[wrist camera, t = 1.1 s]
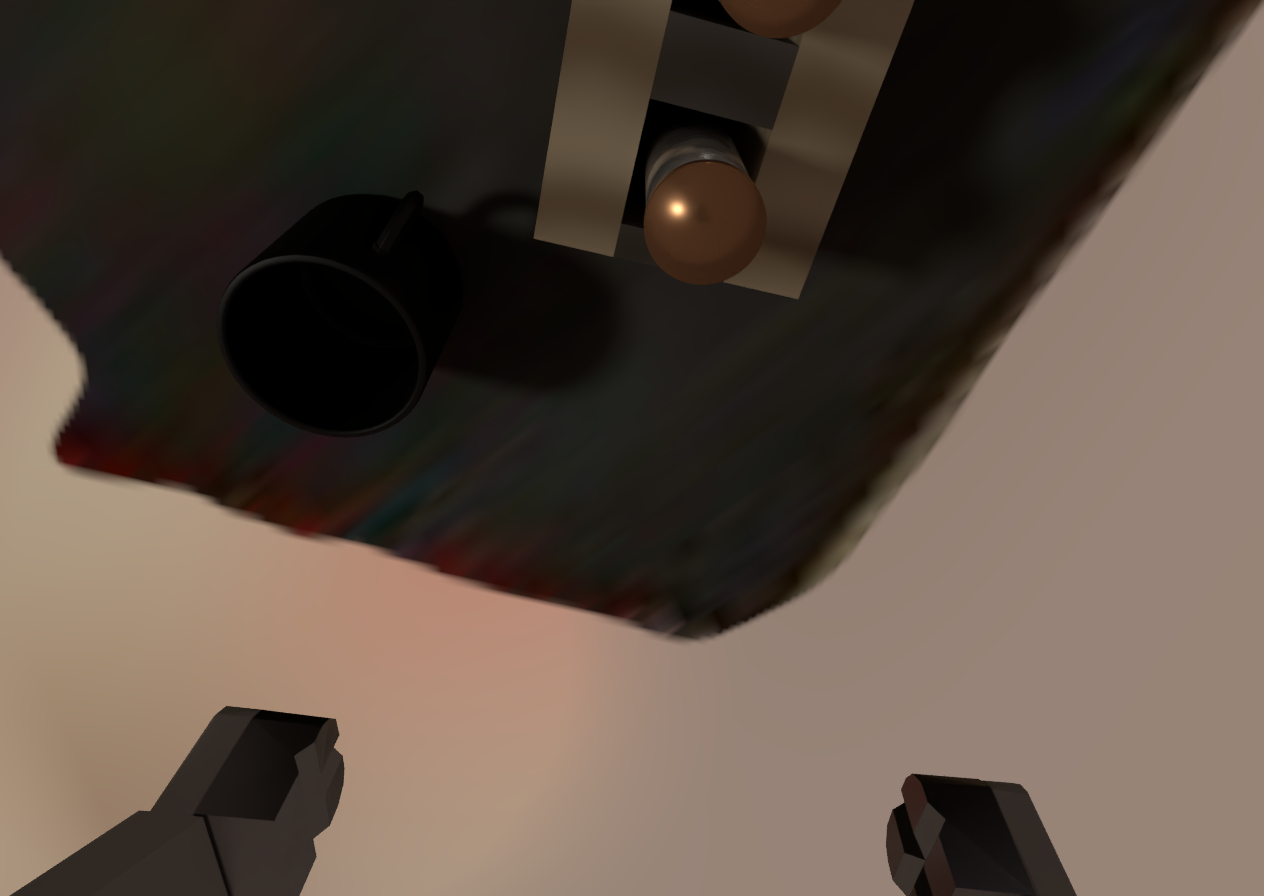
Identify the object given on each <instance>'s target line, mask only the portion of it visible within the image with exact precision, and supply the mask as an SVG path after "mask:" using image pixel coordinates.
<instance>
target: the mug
mask: <svg viewBox="0 0 1264 896" xmlns="http://www.w3.org/2000/svg"><path fill="white" fill-rule="evenodd" d="M423 199H424V196H423V195H422V194H421V193H419V192H418V191H417V190H416V191H412V192H409V193H407V195H406V196H405V197H404V198H403V200H402V201H401V203H397V202H395V201H392V200H390V199H387V198H382V197H378V196H373V195H363V194H354V195H345V196H340V197H336V198H332V199H329V200H327V201H325V202H323V203H321V204H319V205H318V206H316V207H315V208H314V209H312V210H311V211H309V212H308V213H307V214H306V215H305V216H304V217H302V218H301V219H300V220H299V221H298V222H297V223H295V224H294V225H293V226H292V227H291V228H290V229H289V230H287V231H286V232H285V233H284V234H283V235H282V236H280V237H279V238H278V239H277V240H276V241H275V242H274V243H272V244H271V245H270V246H269V247H268V248H267V249H265V250H264V251H263V252H262V253H261V254H260V255H258V256H257V257H256V258H255V259H254V260H253V261H252V262H250V263H249V264H248V265H247V266H246V267H245V268H243V269H242V270H241V271H240V272H239V273H238V274H237V275H236V276H235V277H234V279H233V280H232V281H231V282H230V284H229V285H228V286H227V288H226V290H225V292H224V293H223V295H222V298H221V301H220V305H219V308H218V315H217V334H218V341H219V345H220V349H221V352H222V355H223V357H224V359H225V362H226V364H227V366H228V368H229V370H230V371H231V373H232V374H233V376H234V378H235V379H236V381H237V382H238V383H239V384H240V386H241V387H242V388H243V389H244V390H245V392H246V393H247V394H248V395H249V396H250V397H251V398H252V399H253V400H255V401H256V402H257V403H258V404H259V405H260V406H261V407H263V408H264V409H266V410H267V411H268V412H270V413H271V414H273V415H274V416H276V417H277V418H279V419H281V420H283V421H284V422H286V423H288V424H291V425H293V426H295V427H297V428H300V429H303V430H306V431H309V432H312V433H315V434H320V435H326V436H332V437H359V436H365V435H370V434H375V433H377V432H380V431H383V430H385V429H387V428H389V427H391V426H393V425H395V424H396V423H398V422H400V421H401V420H402V419H403V418H404V417H405V416H407V415H408V414H409V413H410V412H411V410H412V409H413V408H414V407H415V405H416V404H417V403H418V401H419V399H420V397H421V395H422V393H423V391H424V389H425V387H426V385H427V382H428V380H429V378H430V376H431V374H432V372H433V369H434V367H435V365H436V363H437V361H438V359H439V356H440V354H441V352H442V350H443V348H444V346H445V343H446V341H447V339H448V337H449V335H450V333H451V330H452V328H453V326H454V324H455V322H456V320H457V317H458V315H459V312H460V308H461V304H462V293H463V290H462V279H461V274H460V270H459V267H458V264H457V262H456V259H455V256H454V254H453V253H452V251H451V249H450V247H449V246H448V244H447V243H446V241H445V240H444V238H443V237H442V236H441V235H440V233H439V232H438V231H437V230H436V229H435V228H434V227H433V226H432V225H431V224H430V223H429V222H428V221H427V220H426V219H424V218H423V217H422V216H420V215H419V213H420V211H421V209H422V207H423Z"/></svg>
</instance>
